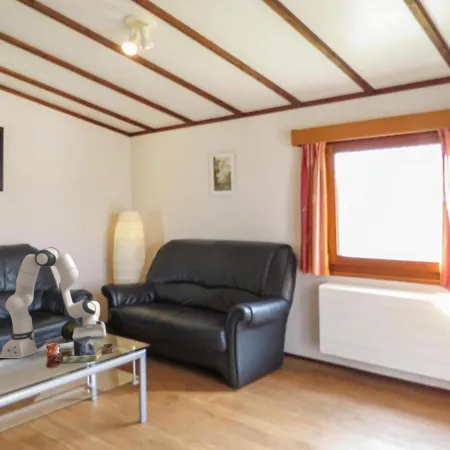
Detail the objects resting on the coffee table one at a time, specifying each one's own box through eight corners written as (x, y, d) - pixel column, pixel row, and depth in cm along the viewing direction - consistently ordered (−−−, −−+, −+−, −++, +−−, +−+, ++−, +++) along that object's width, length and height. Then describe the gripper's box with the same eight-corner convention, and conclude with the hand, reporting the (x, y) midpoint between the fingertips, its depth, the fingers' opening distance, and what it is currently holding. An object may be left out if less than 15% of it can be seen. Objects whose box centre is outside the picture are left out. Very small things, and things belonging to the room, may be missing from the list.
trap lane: (52, 363, 263) (52, 358, 263) (67, 349, 289) (67, 344, 288) (107, 359, 263) (107, 354, 263) (117, 345, 289) (117, 340, 288)
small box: (79, 359, 267) (78, 342, 266) (74, 357, 271) (72, 340, 271) (95, 354, 275) (94, 337, 274) (89, 352, 279) (88, 335, 279)
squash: (55, 336, 301) (69, 317, 303) (58, 331, 316) (72, 313, 317) (73, 348, 303) (87, 329, 305) (75, 342, 318) (89, 324, 320)
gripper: (73, 324, 286) (69, 344, 277) (105, 321, 286) (102, 341, 277) (76, 329, 291) (72, 349, 281) (107, 326, 291) (105, 346, 281)
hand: (87, 345), depth 279 cm, fingers closed
